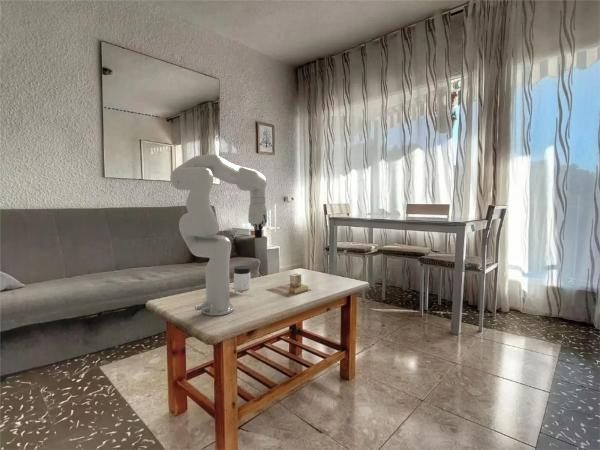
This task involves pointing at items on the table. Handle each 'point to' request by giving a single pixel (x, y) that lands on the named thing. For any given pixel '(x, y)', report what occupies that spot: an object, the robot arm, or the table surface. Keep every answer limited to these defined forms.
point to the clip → (298, 289)
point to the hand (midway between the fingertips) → (258, 237)
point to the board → (284, 290)
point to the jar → (241, 278)
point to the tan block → (295, 280)
